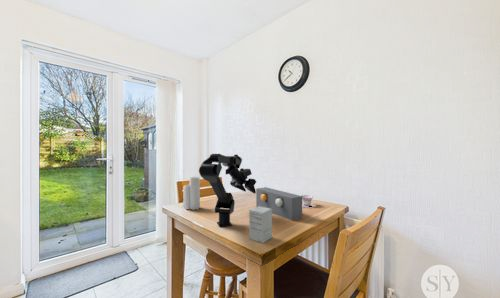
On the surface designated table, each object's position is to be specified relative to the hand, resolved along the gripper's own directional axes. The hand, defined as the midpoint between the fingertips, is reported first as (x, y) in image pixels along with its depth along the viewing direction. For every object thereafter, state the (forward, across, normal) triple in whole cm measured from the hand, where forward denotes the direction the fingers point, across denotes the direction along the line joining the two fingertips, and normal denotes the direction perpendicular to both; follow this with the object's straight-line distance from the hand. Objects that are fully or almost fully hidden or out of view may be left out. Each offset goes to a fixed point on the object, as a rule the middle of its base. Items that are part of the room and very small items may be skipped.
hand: (250, 192), depth 128 cm
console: (+18, -9, -2) cm, 20 cm away
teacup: (+36, -12, -20) cm, 43 cm away
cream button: (+10, -16, -1) cm, 19 cm away
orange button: (+11, -2, -2) cm, 11 cm away
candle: (-7, +32, +25) cm, 41 cm away
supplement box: (-3, -30, +23) cm, 38 cm away
